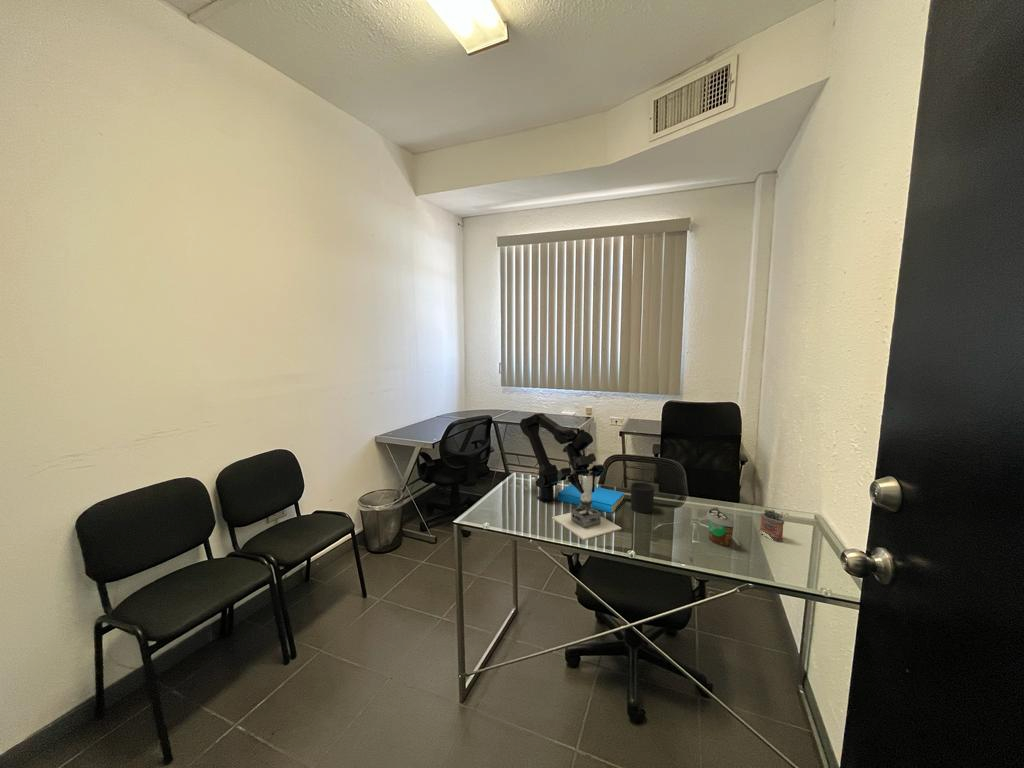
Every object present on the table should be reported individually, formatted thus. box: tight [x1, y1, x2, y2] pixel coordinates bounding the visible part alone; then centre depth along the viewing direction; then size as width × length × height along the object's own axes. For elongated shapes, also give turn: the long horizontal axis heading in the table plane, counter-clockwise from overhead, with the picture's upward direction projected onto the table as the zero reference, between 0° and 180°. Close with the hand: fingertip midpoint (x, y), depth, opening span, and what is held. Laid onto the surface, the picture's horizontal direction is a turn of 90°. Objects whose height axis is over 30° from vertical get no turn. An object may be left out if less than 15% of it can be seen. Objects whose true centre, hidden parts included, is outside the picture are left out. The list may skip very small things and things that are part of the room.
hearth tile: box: [551, 510, 622, 541], centre depth 156 cm, size 20×18×1 cm
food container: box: [705, 506, 735, 548], centre depth 143 cm, size 12×6×10 cm, turn 178°
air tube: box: [579, 473, 593, 510], centre depth 155 cm, size 5×5×13 cm
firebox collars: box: [570, 506, 602, 529], centre depth 156 cm, size 8×8×5 cm
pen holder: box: [630, 482, 655, 514], centre depth 170 cm, size 9×9×10 cm
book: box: [557, 483, 625, 514], centre depth 179 cm, size 17×4×25 cm
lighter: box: [759, 508, 785, 543], centre depth 145 cm, size 8×3×10 cm, turn 23°
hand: (588, 492), depth 153 cm, fingers closed on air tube, 4 cm apart
